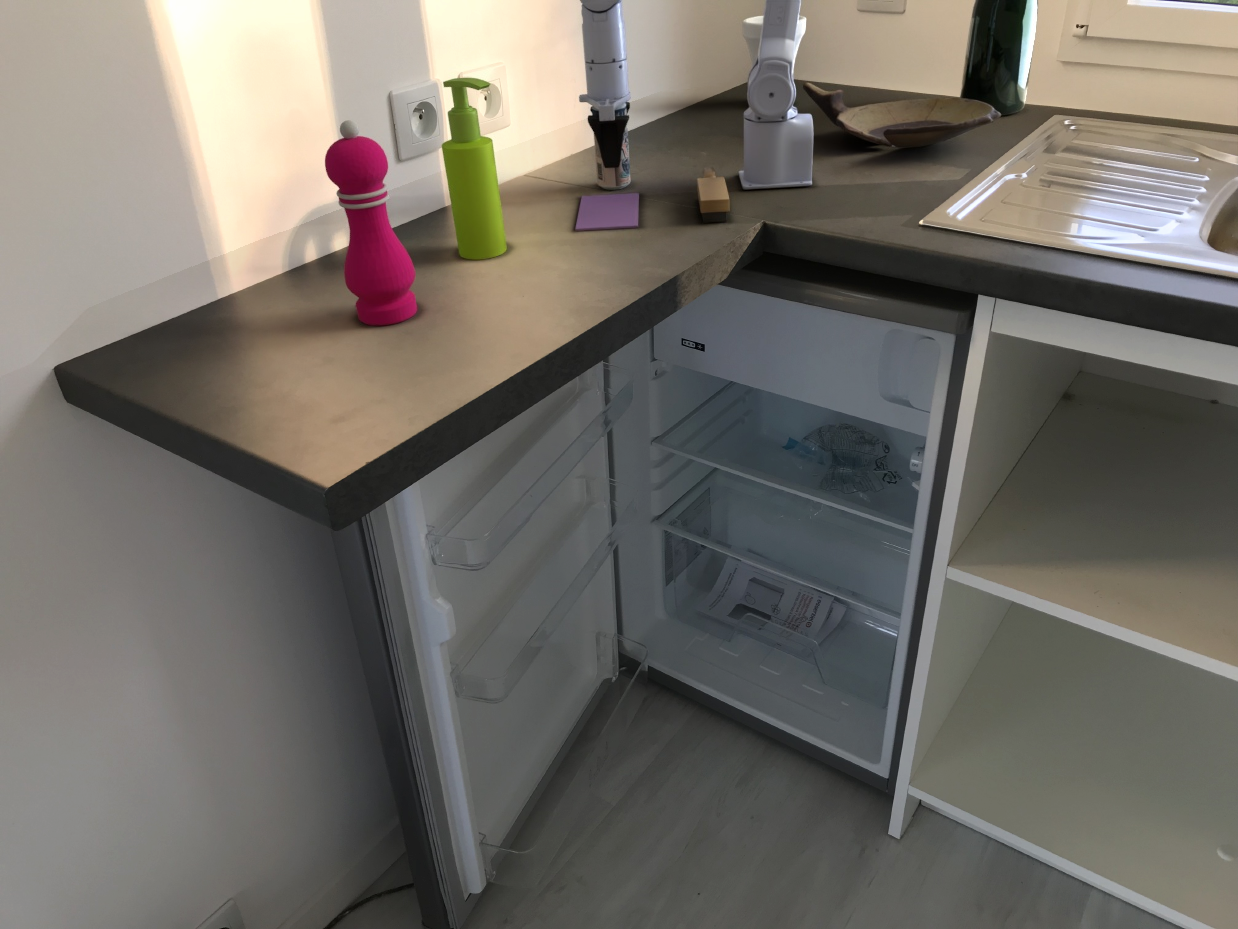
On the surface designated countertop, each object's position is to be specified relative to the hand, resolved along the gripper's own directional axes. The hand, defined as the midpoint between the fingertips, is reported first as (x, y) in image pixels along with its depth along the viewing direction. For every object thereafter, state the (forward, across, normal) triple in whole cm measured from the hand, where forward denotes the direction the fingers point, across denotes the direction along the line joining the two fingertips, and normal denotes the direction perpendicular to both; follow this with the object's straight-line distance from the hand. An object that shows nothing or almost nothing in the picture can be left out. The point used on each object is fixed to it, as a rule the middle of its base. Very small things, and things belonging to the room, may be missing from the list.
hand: (612, 162), depth 134 cm
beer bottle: (+4, -32, +63) cm, 71 cm away
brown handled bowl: (+4, -16, +44) cm, 47 cm away
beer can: (+4, 0, 0) cm, 4 cm away
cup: (+4, -48, +28) cm, 56 cm away
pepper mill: (+4, +43, -23) cm, 49 cm away
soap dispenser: (+4, +25, -15) cm, 29 cm away
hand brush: (+3, +11, +13) cm, 18 cm away
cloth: (+3, +12, 0) cm, 12 cm away
